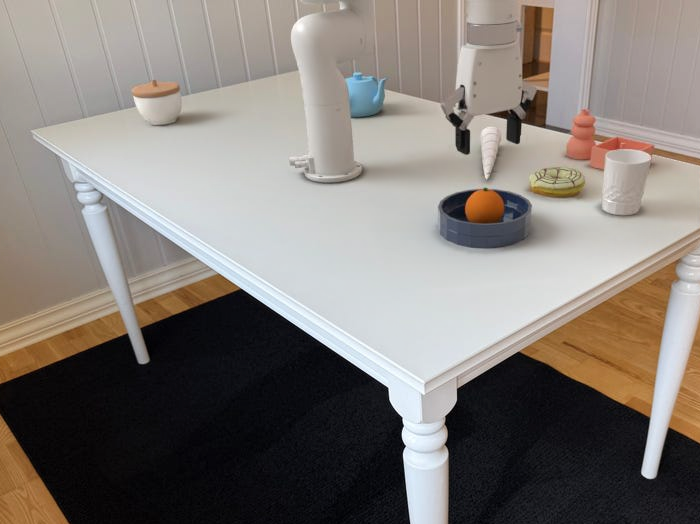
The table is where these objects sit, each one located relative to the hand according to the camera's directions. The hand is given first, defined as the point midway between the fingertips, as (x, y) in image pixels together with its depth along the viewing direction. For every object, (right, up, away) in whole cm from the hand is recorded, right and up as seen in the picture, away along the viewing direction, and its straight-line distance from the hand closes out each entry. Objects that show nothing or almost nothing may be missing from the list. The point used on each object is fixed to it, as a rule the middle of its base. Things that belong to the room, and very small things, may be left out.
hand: (488, 147), depth 113 cm
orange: (0, -12, +9) cm, 15 cm away
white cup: (+27, -7, +15) cm, 31 cm away
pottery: (+30, +8, +37) cm, 48 cm away
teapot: (-26, +33, +76) cm, 87 cm away
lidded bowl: (-80, +31, +76) cm, 115 cm away
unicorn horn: (+5, +9, +39) cm, 40 cm away
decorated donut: (+17, -2, +23) cm, 29 cm away
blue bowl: (0, -12, +9) cm, 15 cm away
